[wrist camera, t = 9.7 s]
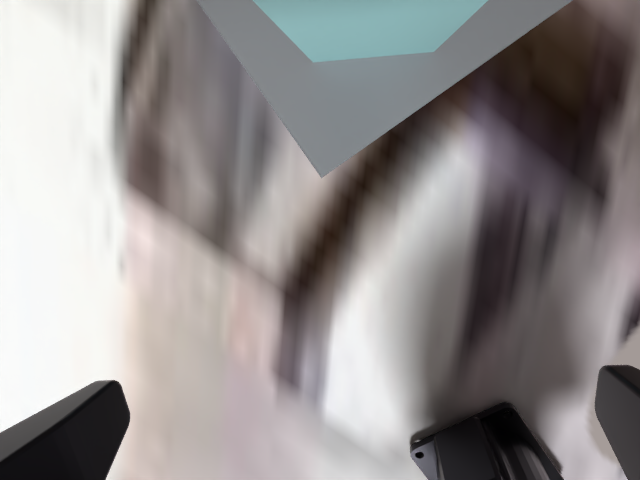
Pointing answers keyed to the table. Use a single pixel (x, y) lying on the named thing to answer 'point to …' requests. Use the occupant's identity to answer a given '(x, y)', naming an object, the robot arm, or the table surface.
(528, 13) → the coaster
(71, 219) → the table surface
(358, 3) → the block
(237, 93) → the table surface
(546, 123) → the table surface
